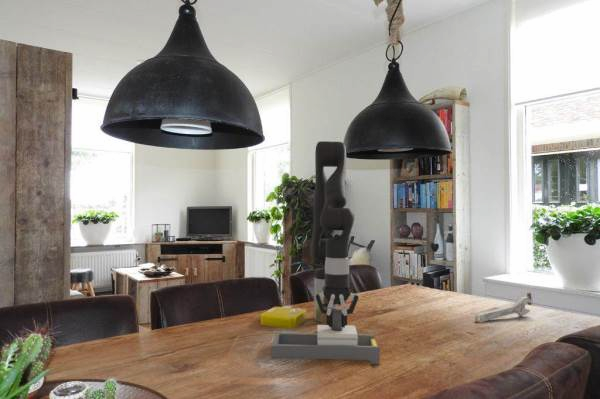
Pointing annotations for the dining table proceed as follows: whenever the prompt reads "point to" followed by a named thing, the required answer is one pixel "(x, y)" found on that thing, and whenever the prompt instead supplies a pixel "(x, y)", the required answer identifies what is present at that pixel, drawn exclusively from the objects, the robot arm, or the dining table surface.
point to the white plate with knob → (337, 331)
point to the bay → (324, 348)
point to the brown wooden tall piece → (324, 316)
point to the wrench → (506, 310)
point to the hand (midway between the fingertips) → (336, 326)
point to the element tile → (283, 317)
